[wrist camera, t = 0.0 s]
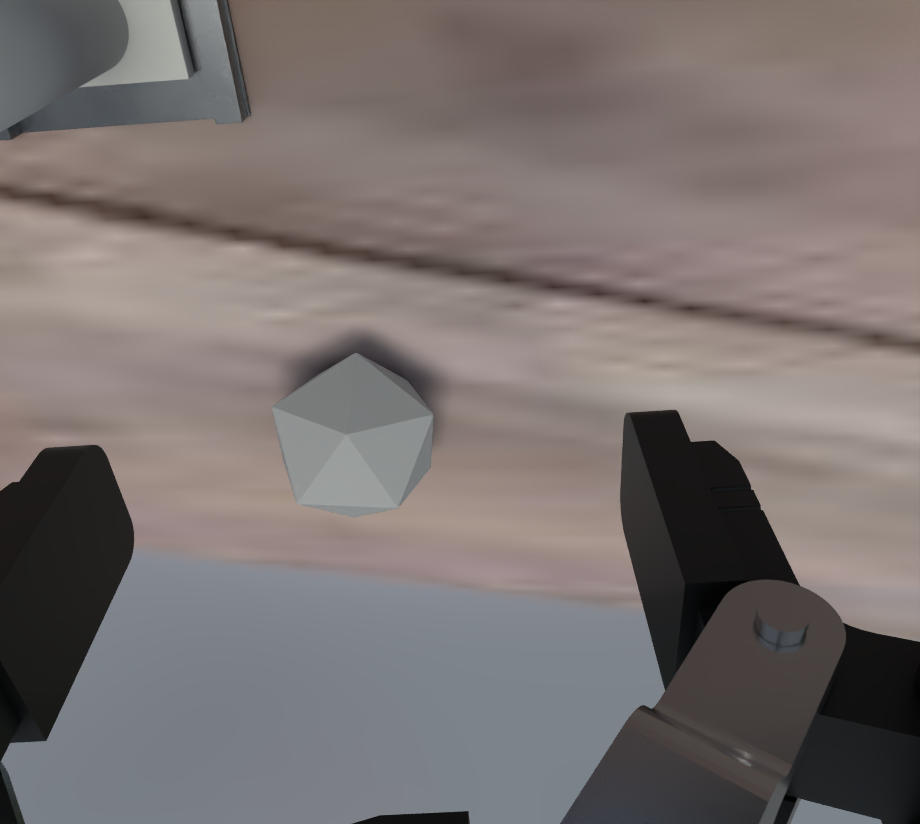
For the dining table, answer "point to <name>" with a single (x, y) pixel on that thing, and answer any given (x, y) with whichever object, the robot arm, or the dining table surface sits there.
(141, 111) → the track
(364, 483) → the die
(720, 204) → the dining table surface
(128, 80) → the grey post on base
